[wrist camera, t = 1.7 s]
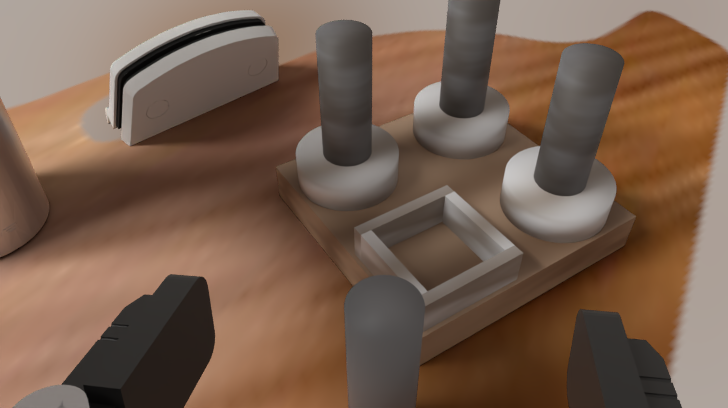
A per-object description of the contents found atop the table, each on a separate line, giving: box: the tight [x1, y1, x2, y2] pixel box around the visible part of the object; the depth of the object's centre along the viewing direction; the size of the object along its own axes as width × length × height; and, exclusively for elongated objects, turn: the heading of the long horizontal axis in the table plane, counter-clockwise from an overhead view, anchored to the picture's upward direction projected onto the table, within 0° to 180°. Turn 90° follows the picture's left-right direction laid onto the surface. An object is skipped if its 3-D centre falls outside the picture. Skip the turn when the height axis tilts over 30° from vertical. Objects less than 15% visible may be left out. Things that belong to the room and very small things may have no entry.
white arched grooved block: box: [105, 10, 278, 146], centre depth 58 cm, size 17×5×10 cm, turn 132°
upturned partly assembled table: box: [276, 0, 636, 365], centre depth 44 cm, size 19×19×15 cm
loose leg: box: [344, 275, 425, 408], centre depth 32 cm, size 4×4×12 cm
